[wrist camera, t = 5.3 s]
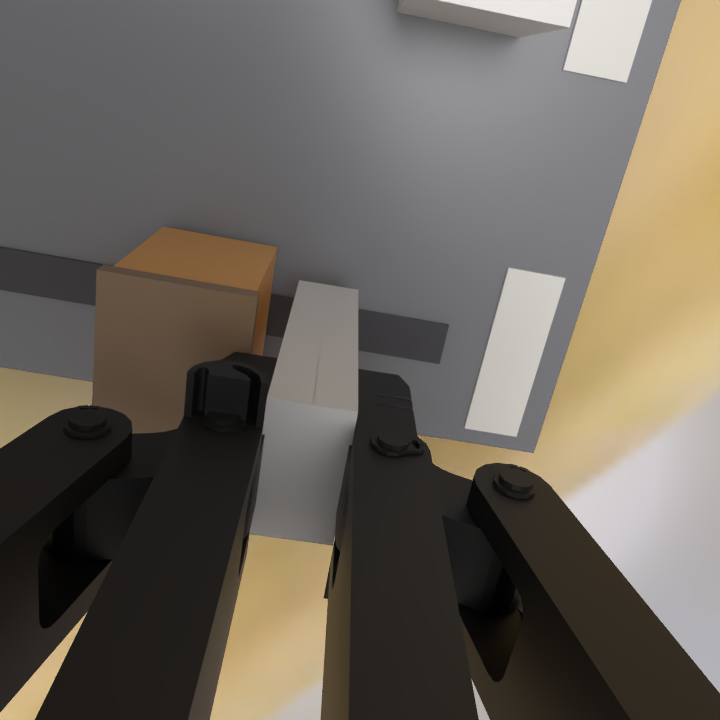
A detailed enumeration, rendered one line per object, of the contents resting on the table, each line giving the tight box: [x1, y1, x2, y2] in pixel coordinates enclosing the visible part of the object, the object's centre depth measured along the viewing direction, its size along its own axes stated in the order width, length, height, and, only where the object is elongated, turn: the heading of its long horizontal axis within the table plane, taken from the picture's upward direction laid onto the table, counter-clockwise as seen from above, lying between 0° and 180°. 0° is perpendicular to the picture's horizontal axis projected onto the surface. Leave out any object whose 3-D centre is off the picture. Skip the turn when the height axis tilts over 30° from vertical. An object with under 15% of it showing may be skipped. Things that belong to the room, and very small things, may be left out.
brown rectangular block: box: [92, 227, 277, 434], centre depth 17 cm, size 3×4×5 cm
